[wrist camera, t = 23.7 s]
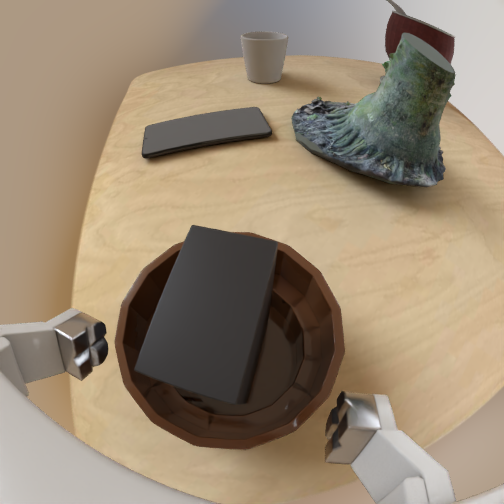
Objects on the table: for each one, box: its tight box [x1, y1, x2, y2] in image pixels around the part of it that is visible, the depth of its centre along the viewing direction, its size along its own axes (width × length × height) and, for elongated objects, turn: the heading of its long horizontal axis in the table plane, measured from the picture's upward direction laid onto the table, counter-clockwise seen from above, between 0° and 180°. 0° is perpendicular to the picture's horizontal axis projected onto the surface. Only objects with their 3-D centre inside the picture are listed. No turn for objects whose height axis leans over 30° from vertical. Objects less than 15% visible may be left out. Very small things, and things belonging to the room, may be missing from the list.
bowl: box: [115, 232, 345, 450], centre depth 15 cm, size 11×11×6 cm
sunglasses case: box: [134, 225, 278, 405], centre depth 13 cm, size 4×6×9 cm, turn 166°
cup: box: [241, 32, 288, 84], centre depth 37 cm, size 8×10×8 cm
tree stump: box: [292, 33, 455, 187], centre depth 24 cm, size 18×20×18 cm
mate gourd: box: [380, 0, 455, 83], centre depth 33 cm, size 16×14×20 cm
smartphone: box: [142, 107, 272, 158], centre depth 30 cm, size 7×1×15 cm
